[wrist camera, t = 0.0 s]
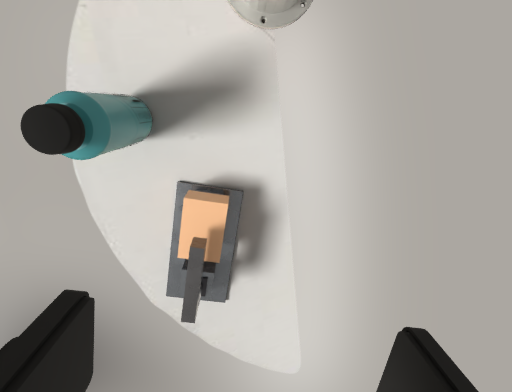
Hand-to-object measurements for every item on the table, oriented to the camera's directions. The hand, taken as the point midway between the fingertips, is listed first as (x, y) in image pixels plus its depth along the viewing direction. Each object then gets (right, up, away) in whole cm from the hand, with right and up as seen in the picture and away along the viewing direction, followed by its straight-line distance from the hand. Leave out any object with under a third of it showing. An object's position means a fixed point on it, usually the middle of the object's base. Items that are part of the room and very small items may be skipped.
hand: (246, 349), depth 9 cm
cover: (-7, +1, +36) cm, 36 cm away
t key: (-8, -5, +35) cm, 36 cm away
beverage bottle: (-17, +16, +33) cm, 40 cm away
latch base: (-8, -3, +39) cm, 40 cm away
